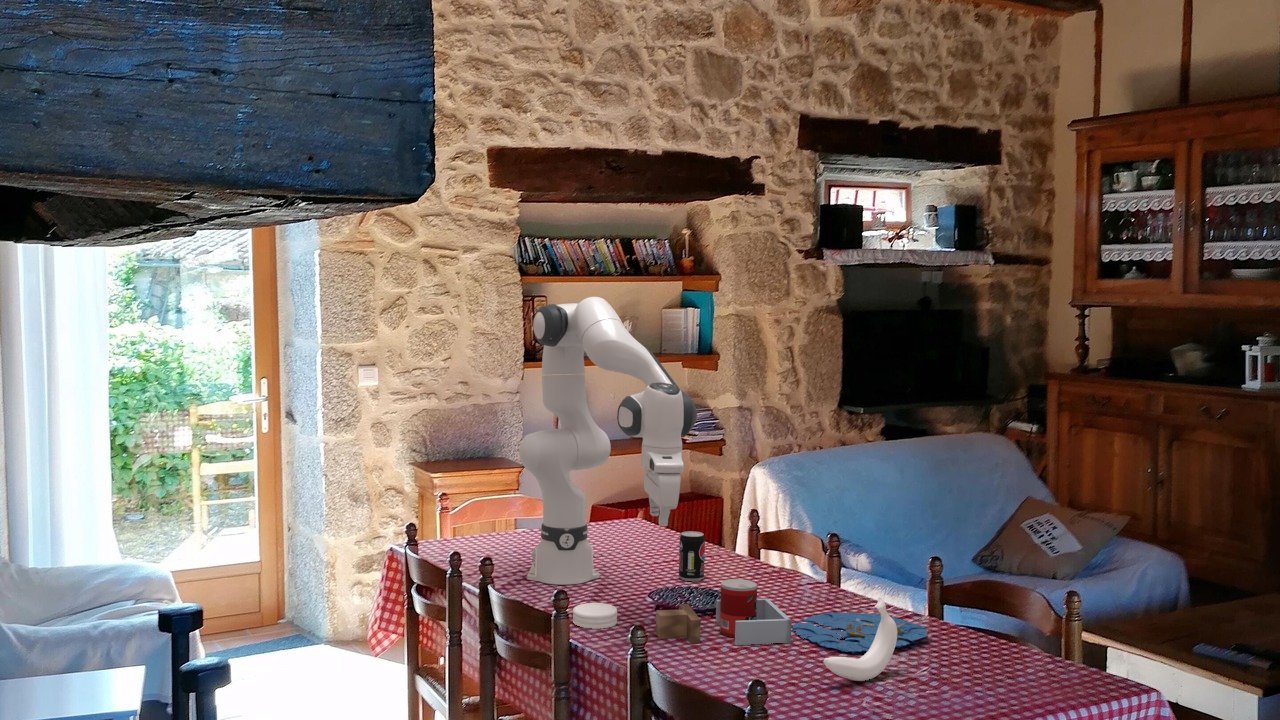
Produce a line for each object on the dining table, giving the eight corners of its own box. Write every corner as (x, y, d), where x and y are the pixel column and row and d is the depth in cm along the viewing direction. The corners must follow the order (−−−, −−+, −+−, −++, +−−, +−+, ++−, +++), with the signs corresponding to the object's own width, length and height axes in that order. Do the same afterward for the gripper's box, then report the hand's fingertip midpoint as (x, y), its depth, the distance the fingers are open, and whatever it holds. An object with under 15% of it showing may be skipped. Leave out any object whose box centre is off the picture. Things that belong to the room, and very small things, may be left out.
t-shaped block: (663, 644, 226) (663, 621, 226) (652, 627, 238) (652, 605, 238) (700, 643, 227) (700, 619, 227) (687, 626, 239) (688, 604, 239)
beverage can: (695, 583, 276) (696, 537, 275) (673, 579, 279) (674, 534, 279) (708, 578, 281) (709, 533, 281) (687, 574, 285) (688, 529, 284)
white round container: (572, 617, 245) (572, 602, 245) (615, 617, 246) (616, 601, 246) (573, 630, 235) (573, 614, 235) (618, 630, 236) (618, 614, 236)
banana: (821, 686, 203) (823, 609, 202) (881, 665, 216) (883, 593, 215) (842, 693, 199) (844, 615, 199) (901, 671, 212) (904, 598, 211)
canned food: (752, 640, 230) (754, 589, 230) (716, 636, 232) (717, 586, 232) (758, 630, 237) (760, 580, 237) (723, 626, 240) (724, 577, 239)
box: (716, 621, 243) (716, 599, 243) (767, 620, 245) (767, 598, 245) (736, 645, 226) (736, 622, 226) (790, 643, 228) (791, 620, 228)
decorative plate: (776, 652, 227) (775, 628, 227) (807, 614, 255) (807, 592, 255) (919, 666, 217) (919, 641, 216) (935, 624, 244) (935, 602, 244)
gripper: (638, 449, 244) (635, 509, 245) (656, 466, 224) (653, 531, 225) (665, 450, 245) (663, 509, 246) (685, 466, 225) (682, 531, 226)
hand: (658, 520), depth 236 cm, fingers open, 8 cm apart
